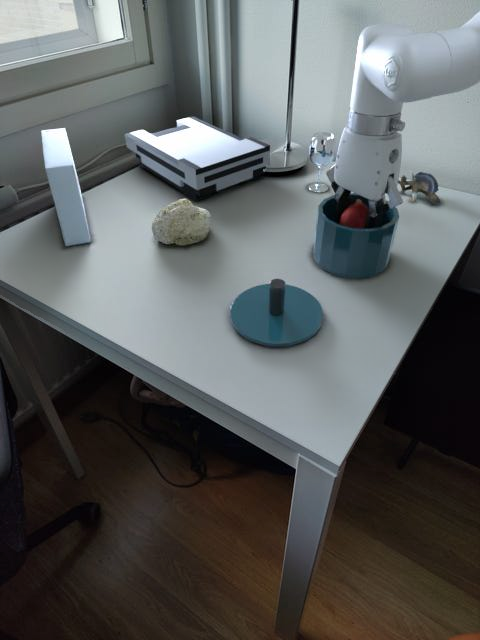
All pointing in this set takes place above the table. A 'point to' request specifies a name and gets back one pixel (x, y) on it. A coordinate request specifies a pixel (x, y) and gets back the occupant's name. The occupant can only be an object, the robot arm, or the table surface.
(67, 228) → the skincare box
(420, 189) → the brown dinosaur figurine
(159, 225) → the decorative item
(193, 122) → the game console
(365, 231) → the pot
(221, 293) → the table surface
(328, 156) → the wineglass
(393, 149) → the robot arm
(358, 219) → the red pomegranate
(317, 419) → the table surface
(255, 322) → the lid
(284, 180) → the table surface
